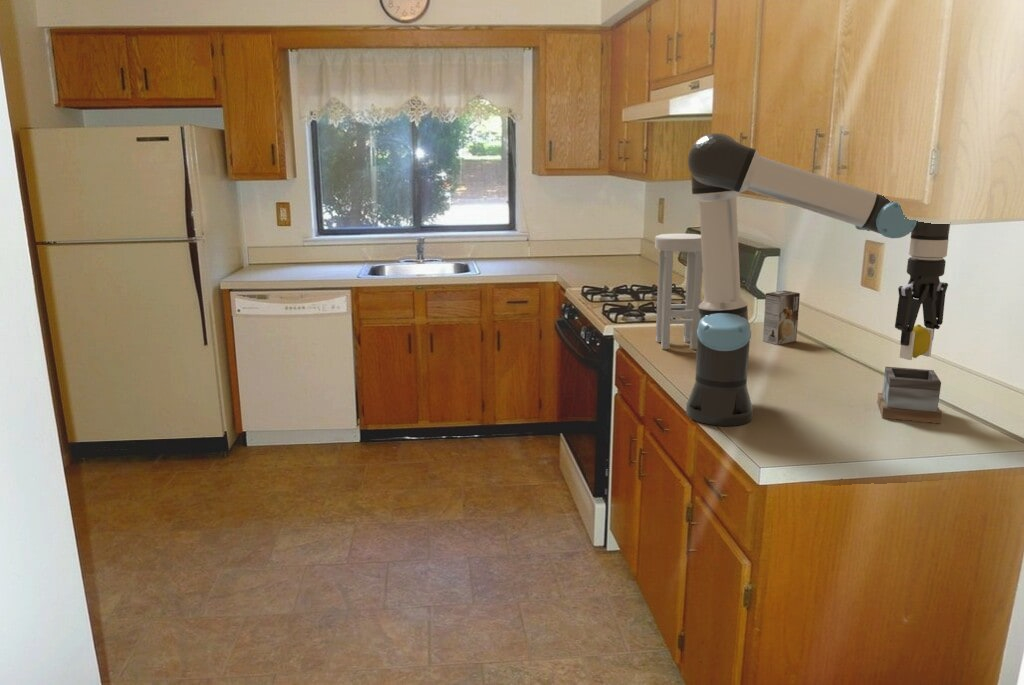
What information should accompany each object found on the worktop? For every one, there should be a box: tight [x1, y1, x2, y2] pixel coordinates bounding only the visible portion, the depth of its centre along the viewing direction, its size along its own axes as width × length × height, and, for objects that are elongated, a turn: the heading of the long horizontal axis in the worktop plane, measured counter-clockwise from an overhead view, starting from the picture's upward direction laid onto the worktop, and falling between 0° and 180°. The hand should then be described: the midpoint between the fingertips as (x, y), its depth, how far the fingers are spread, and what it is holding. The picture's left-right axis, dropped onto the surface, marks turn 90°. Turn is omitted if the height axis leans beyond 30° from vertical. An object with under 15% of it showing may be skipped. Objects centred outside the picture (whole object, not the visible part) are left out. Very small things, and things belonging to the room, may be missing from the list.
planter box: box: [876, 366, 943, 424], centre depth 178 cm, size 12×12×10 cm
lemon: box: [912, 324, 930, 359], centre depth 175 cm, size 6×6×8 cm
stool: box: [654, 233, 703, 350], centre depth 239 cm, size 16×16×35 cm
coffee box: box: [762, 290, 801, 346], centre depth 245 cm, size 9×6×16 cm
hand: (915, 356), depth 176 cm, fingers closed on lemon, 5 cm apart
